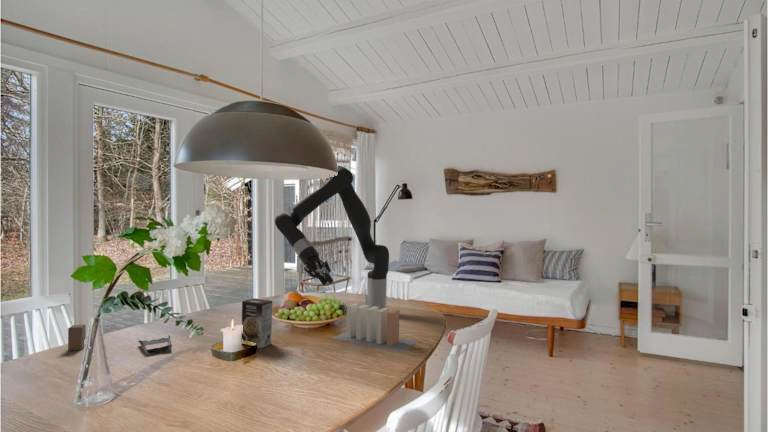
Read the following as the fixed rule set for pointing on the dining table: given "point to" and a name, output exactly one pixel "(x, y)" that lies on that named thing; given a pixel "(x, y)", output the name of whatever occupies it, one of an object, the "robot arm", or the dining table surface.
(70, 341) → the wooden block
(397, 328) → the domino
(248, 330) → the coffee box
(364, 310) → the domino
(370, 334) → the domino
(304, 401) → the dining table surface
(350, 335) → the domino
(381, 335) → the domino
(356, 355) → the dining table surface
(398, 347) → the grey ridged plate
